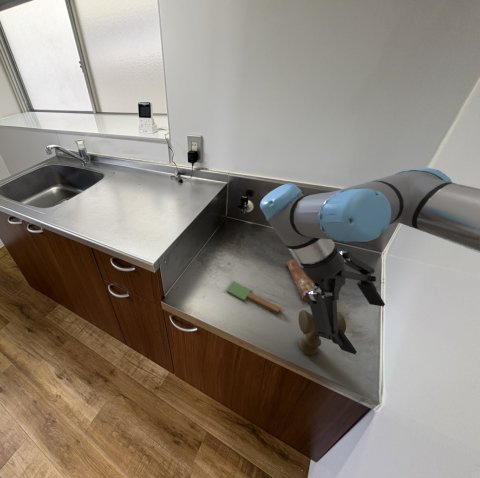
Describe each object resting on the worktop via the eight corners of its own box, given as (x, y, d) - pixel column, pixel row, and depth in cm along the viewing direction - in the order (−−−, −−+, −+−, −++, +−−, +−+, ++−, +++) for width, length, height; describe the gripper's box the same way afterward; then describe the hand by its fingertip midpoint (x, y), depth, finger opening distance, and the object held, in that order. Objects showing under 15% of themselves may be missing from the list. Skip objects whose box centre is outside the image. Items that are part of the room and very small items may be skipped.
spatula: (281, 306, 85) (282, 304, 84) (275, 317, 82) (276, 315, 81) (233, 282, 95) (233, 280, 94) (226, 291, 92) (226, 289, 91)
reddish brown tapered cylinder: (302, 305, 84) (306, 295, 81) (283, 264, 99) (286, 254, 95) (321, 304, 84) (327, 294, 80) (300, 264, 98) (303, 253, 95)
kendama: (287, 337, 76) (304, 297, 64) (321, 338, 75) (345, 298, 62) (292, 356, 72) (312, 318, 59) (329, 359, 70) (357, 320, 58)
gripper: (327, 218, 58) (369, 285, 62) (266, 294, 50) (318, 364, 54) (363, 213, 51) (408, 288, 54) (298, 300, 43) (356, 381, 47)
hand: (363, 326), depth 54 cm, fingers open, 13 cm apart
